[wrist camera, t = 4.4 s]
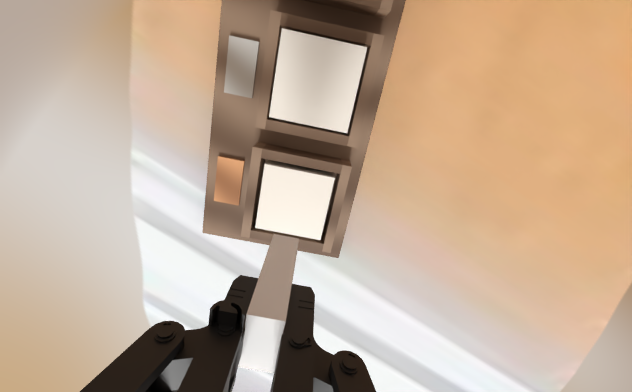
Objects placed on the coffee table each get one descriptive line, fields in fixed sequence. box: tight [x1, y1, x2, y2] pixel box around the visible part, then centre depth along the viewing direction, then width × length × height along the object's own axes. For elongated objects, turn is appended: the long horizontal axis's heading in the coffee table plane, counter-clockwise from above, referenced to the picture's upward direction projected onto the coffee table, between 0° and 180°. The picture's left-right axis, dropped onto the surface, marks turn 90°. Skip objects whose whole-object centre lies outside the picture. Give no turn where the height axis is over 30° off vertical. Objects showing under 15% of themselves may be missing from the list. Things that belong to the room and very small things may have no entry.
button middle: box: [269, 28, 367, 133], centre depth 23 cm, size 6×6×2 cm
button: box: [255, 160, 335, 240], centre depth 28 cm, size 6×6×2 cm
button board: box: [203, 0, 406, 258], centre depth 25 cm, size 32×14×4 cm, turn 169°
